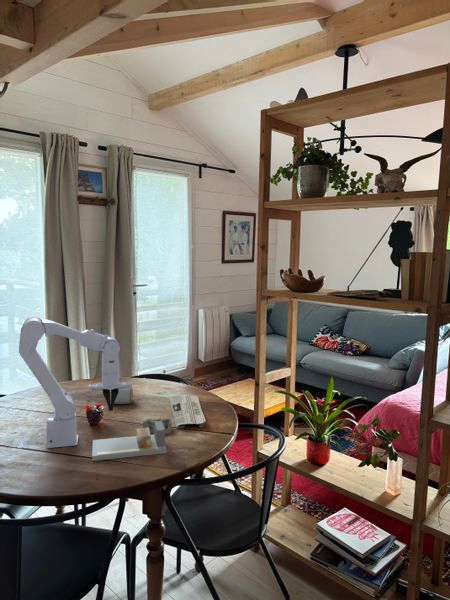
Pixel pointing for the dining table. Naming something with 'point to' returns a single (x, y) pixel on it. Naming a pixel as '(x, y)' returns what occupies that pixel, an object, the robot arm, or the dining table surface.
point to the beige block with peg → (143, 437)
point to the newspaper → (186, 410)
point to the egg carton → (150, 422)
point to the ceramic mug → (124, 396)
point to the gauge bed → (129, 445)
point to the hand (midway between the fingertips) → (110, 409)
